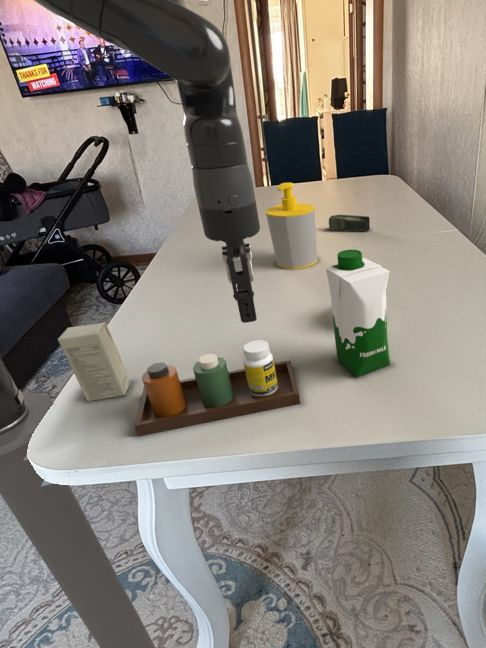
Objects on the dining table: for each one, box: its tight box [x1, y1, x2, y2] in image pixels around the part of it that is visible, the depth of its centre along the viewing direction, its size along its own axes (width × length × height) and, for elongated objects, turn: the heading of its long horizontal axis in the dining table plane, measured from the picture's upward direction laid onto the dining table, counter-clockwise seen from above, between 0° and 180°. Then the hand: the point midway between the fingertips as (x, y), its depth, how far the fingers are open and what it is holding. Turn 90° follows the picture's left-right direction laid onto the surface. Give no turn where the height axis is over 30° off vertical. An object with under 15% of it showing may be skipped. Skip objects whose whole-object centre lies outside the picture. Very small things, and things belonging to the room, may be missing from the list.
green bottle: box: [192, 353, 234, 407], centre depth 75 cm, size 5×5×8 cm
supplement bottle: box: [242, 339, 278, 397], centre depth 76 cm, size 5×5×8 cm
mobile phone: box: [324, 214, 371, 232], centre depth 154 cm, size 5×3×15 cm
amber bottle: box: [141, 362, 186, 417], centre depth 73 cm, size 5×5×8 cm
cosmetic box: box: [57, 321, 131, 402], centre depth 78 cm, size 6×4×12 cm
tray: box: [134, 359, 301, 437], centre depth 77 cm, size 25×11×2 cm, turn 105°
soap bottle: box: [265, 182, 318, 270], centre depth 127 cm, size 13×13×21 cm
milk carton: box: [325, 249, 391, 378], centre depth 80 cm, size 9×9×20 cm
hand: (247, 308), depth 71 cm, fingers open, 8 cm apart
